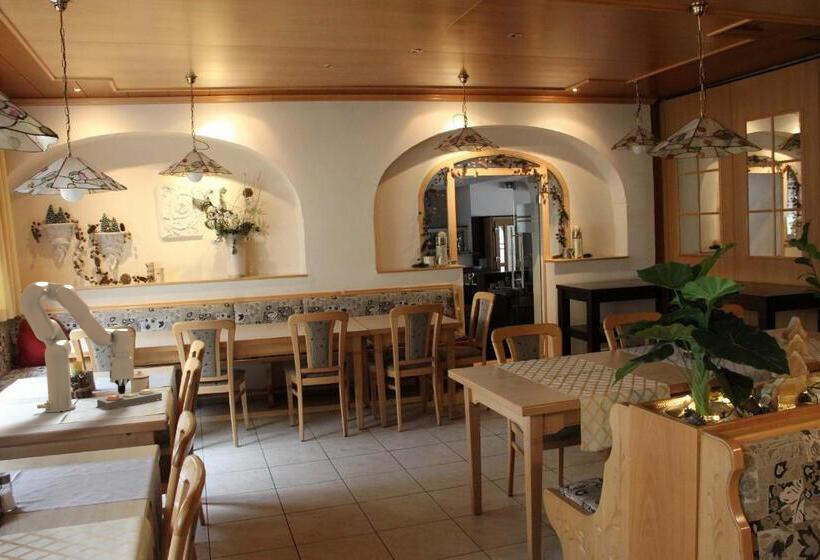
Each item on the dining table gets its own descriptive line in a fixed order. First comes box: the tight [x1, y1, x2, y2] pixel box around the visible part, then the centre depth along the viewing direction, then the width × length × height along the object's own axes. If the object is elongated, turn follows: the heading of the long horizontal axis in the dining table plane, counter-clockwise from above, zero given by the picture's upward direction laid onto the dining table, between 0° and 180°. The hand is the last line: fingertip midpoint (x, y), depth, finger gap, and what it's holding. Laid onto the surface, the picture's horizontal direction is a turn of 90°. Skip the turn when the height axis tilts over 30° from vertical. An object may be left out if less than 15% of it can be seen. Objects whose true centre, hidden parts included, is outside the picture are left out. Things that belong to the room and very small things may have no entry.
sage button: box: [123, 393, 136, 398], centre depth 332 cm, size 5×5×3 cm
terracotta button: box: [106, 394, 120, 401], centre depth 326 cm, size 5×5×3 cm
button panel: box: [96, 389, 163, 411], centre depth 332 cm, size 26×12×3 cm, turn 137°
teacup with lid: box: [130, 370, 150, 394], centre depth 353 cm, size 12×9×12 cm
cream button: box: [140, 388, 152, 395], centre depth 338 cm, size 5×5×3 cm
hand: (121, 393), depth 329 cm, fingers closed
